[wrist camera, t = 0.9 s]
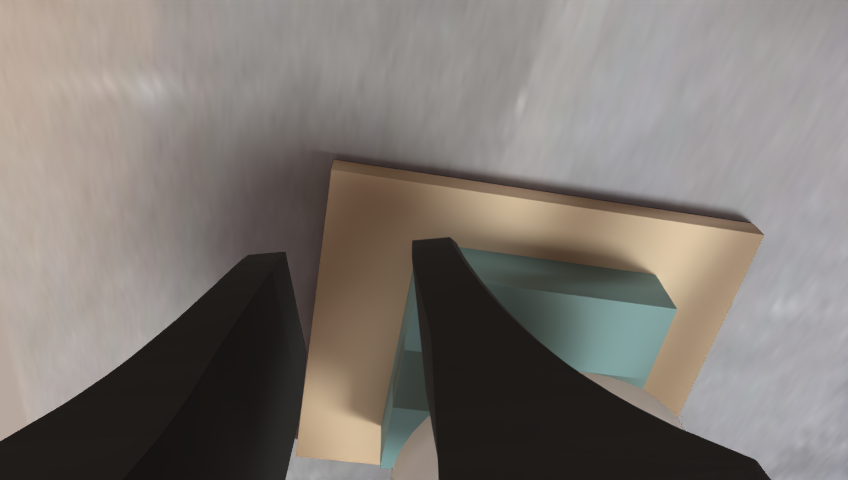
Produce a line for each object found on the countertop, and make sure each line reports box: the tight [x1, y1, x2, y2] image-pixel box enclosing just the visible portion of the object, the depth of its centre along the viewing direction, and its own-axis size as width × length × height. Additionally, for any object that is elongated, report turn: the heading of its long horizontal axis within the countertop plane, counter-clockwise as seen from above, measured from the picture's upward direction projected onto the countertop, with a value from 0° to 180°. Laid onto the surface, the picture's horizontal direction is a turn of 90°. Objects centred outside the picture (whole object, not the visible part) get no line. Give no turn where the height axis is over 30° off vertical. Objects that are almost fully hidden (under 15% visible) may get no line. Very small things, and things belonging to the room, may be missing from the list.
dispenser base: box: [296, 160, 764, 469], centre depth 24 cm, size 14×12×3 cm
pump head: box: [391, 372, 684, 480], centre depth 19 cm, size 8×8×4 cm
